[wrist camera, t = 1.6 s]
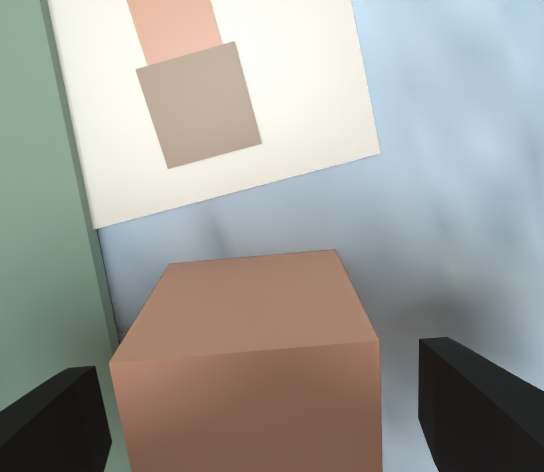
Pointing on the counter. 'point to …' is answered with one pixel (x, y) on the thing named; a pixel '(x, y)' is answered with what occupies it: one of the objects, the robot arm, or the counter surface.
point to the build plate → (47, 228)
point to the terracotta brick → (251, 370)
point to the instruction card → (208, 97)
